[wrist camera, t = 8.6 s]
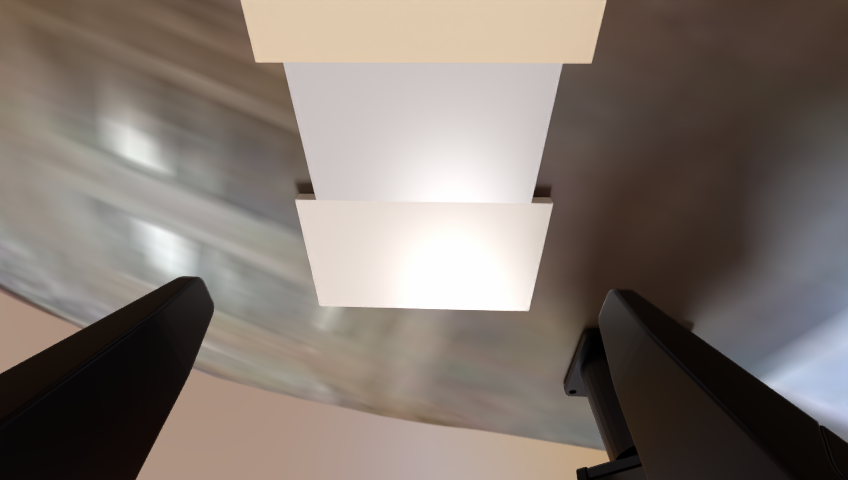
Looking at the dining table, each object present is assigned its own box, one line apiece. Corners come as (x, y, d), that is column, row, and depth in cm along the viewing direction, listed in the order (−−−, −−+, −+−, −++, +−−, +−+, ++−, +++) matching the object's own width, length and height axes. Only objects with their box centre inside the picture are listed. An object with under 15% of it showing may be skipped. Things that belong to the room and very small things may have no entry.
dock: (526, 303, 21) (538, 348, 19) (322, 298, 22) (306, 342, 19) (761, -763, 6) (981, -1272, 4) (94, -720, 7) (-121, -1155, 4)
